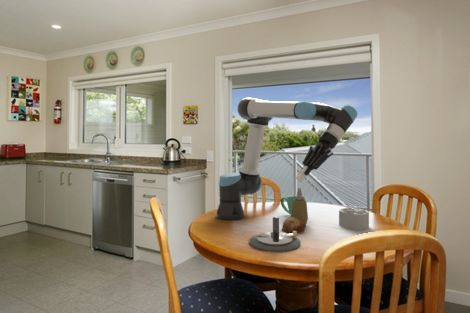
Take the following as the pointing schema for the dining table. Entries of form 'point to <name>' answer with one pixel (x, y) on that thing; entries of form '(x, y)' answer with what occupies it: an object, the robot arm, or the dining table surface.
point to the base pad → (281, 248)
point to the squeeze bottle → (300, 207)
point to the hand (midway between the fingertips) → (298, 180)
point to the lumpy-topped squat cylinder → (354, 218)
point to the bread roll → (293, 225)
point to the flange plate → (270, 240)
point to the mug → (288, 203)
